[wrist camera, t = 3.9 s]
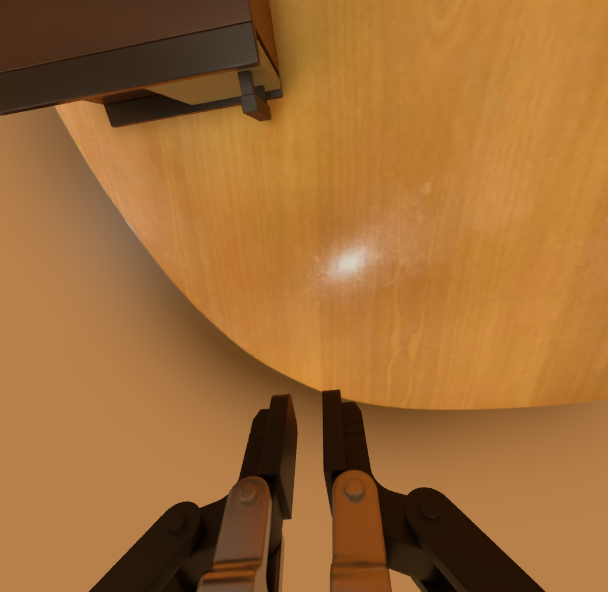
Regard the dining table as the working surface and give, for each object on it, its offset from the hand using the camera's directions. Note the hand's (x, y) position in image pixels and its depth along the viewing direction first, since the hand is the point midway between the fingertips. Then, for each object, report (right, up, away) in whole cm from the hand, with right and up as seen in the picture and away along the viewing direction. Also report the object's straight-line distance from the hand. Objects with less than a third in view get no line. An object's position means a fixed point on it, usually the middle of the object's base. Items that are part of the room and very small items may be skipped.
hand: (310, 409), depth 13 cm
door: (-6, +21, +15) cm, 27 cm away
